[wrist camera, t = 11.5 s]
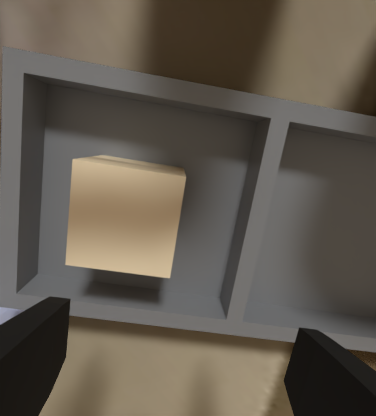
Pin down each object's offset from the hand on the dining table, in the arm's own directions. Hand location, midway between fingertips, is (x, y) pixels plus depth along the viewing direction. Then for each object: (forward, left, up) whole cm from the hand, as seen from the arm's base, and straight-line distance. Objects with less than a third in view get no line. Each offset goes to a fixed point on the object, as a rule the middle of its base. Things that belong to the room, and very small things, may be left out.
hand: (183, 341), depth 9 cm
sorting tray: (+2, -4, -10) cm, 11 cm away
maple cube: (+2, +3, -10) cm, 11 cm away
